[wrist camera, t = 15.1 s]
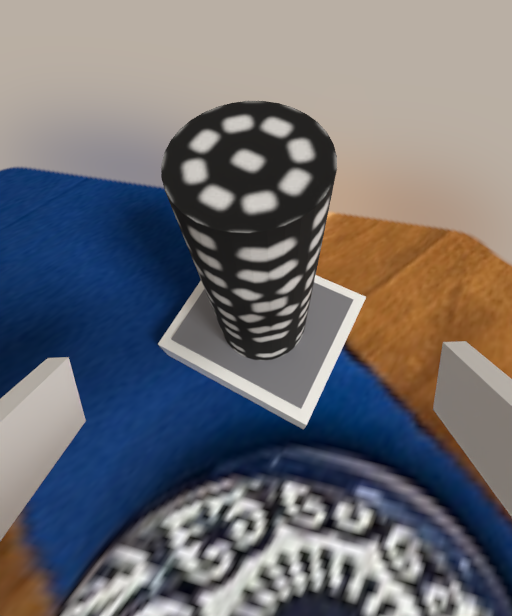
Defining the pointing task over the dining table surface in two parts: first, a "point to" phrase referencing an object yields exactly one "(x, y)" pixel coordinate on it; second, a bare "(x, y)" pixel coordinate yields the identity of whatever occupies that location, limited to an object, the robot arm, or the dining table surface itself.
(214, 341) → the tray
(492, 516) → the dining table surface
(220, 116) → the spotted tube
